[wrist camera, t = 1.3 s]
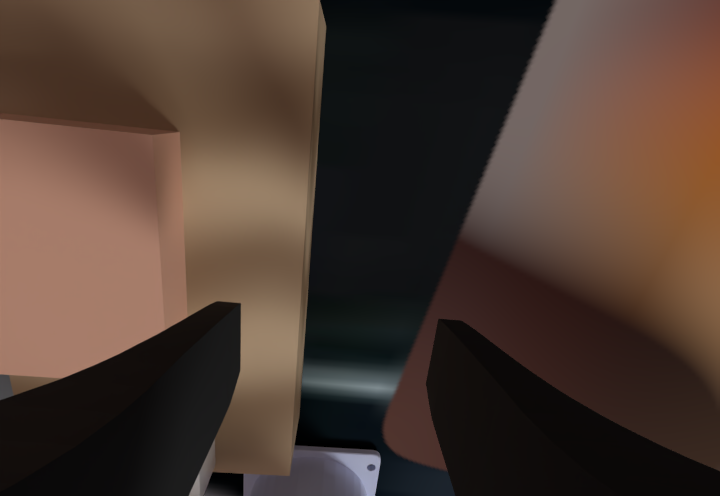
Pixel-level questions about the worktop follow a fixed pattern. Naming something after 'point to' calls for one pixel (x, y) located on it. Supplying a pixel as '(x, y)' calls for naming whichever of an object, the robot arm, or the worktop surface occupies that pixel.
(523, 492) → the robot arm
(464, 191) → the worktop surface
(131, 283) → the terracotta tile
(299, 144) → the oak deck
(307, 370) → the worktop surface
